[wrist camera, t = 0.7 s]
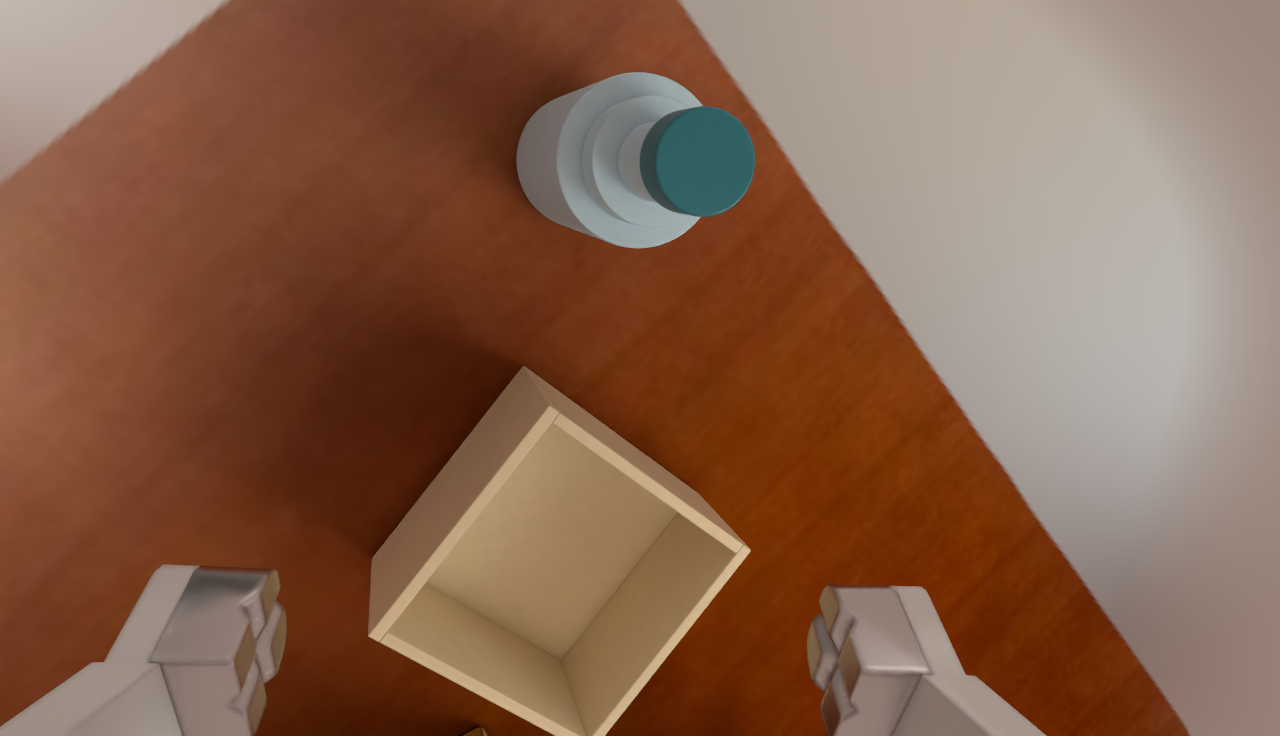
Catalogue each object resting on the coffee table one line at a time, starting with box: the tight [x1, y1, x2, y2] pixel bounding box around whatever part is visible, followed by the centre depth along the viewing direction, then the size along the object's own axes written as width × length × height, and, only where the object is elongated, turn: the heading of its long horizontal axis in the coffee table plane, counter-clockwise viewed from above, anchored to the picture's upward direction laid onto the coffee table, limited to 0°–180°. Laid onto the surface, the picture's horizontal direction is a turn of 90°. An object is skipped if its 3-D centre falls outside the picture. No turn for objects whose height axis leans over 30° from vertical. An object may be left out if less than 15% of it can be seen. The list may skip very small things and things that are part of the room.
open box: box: [368, 366, 751, 736], centre depth 36 cm, size 11×11×6 cm
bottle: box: [516, 72, 755, 248], centre depth 28 cm, size 6×6×15 cm
